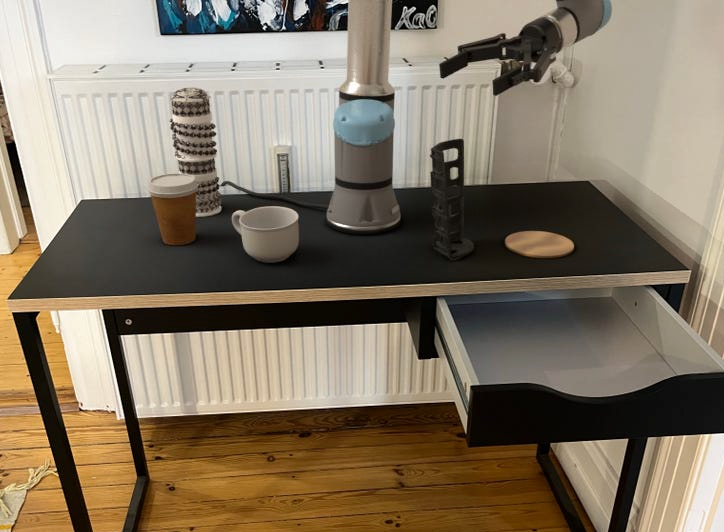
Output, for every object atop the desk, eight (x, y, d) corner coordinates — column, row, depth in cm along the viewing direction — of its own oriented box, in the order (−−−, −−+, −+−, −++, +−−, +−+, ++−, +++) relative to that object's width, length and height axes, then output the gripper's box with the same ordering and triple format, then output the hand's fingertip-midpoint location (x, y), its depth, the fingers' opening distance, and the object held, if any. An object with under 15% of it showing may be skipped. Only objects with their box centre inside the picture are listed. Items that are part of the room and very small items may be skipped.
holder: (471, 261, 140) (468, 151, 130) (430, 262, 141) (424, 153, 132) (475, 240, 149) (472, 136, 140) (436, 241, 151) (431, 138, 141)
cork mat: (493, 248, 146) (493, 245, 146) (522, 228, 155) (522, 226, 155) (557, 263, 139) (558, 261, 139) (584, 242, 148) (584, 239, 148)
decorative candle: (171, 213, 164) (155, 91, 151) (198, 201, 171) (186, 84, 158) (204, 220, 160) (192, 96, 147) (231, 207, 167) (221, 88, 154)
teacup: (312, 256, 143) (310, 215, 139) (268, 273, 136) (265, 230, 132) (263, 237, 151) (260, 198, 147) (219, 252, 144) (215, 212, 140)
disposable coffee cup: (213, 235, 152) (207, 175, 146) (184, 251, 145) (177, 189, 139) (174, 228, 156) (166, 170, 150) (144, 244, 148) (135, 183, 142)
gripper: (598, 69, 141) (519, 116, 133) (499, 43, 157) (422, 83, 149) (601, 28, 136) (518, 74, 128) (497, 5, 152) (418, 45, 144)
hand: (466, 79), depth 138 cm, fingers open, 13 cm apart
